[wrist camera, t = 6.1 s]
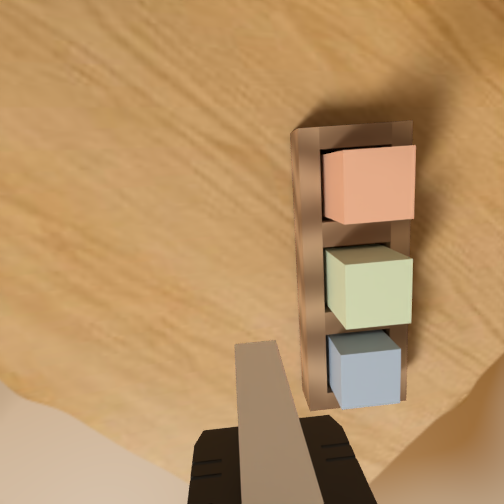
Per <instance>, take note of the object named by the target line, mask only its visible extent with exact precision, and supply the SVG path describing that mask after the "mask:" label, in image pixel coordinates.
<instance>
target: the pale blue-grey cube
mask: <svg viewBox="0 0 504 504" xmlns="http://www.w3.org/2000/svg"><path fill="white" fill-rule="evenodd" d="M326 367H327V380H328V382H329V384H330V386H331V388H332V391H333V393H334V395H335V397H336V399H337V401H338V403H339V405H340V407H341V409H342V410H343V409H352V408H361V407H370V406H378V405H387V404H396V403H400V379H401V348H400V347H399V346H398V345H397V344H396V343H395V342H394V341H393V340H392V339H391V338H390V337H389V336H388V335H387V334H386V333H385V332H384V331H383V330H382V329H379V330H369V331H359V332H349V333H339V334H329V335H326Z"/></svg>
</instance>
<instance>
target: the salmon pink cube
mask: <svg viewBox="0 0 504 504" xmlns="http://www.w3.org/2000/svg"><path fill="white" fill-rule="evenodd" d="M320 159H321V191H322V215H323V216H325V217H327V218H330V219H332V220H334V221H337V222H339V223H342V224H344V225H346V224H358V223H370V222H381V221H393V220H405V219H414V199H415V161H416V145H409V146H395V147H382V148H368V149H355V150H342V151H338V152H333V153H329V154H324V155H320Z"/></svg>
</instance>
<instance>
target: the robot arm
mask: <svg viewBox="0 0 504 504" xmlns="http://www.w3.org/2000/svg"><path fill="white" fill-rule="evenodd" d="M235 365H236V388H237V410H238V427H231V428H222V429H213V430H205V431H203V432H202V434H201V436H200V437H199V439H198V441H197V442H196V444H195V445H194V453H193V461H192V470H191V481H190V486H189V495H188V503H187V504H377V502H376V500H375V498H374V496H373V493H372V491H371V489H370V487H369V485H368V482H367V480H366V478H365V476H364V474H363V471H362V469H361V467H360V465H359V463H358V461H357V459H356V458H355V454H354V452H353V450H352V447H351V445H350V444H349V441H348V439H347V436H346V434H345V432H344V430H343V428H342V426H341V425H340V424H338V423H337V422H336V421H335V420H334V419H333V418H332V417H331V416H330V415H323V416H315V417H306V418H299V417H298V414H297V411H296V407H295V404H294V400H293V397H292V394H291V390H290V387H289V383H288V380H287V377H286V373H285V370H284V366H283V363H282V360H281V356H280V353H279V350H278V346H277V343H276V340H271V341H261V342H252V343H242V344H235Z"/></svg>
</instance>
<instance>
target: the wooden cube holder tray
mask: <svg viewBox="0 0 504 504" xmlns="http://www.w3.org/2000/svg"><path fill="white" fill-rule="evenodd" d="M412 137H413V120H410V121H396V122H381V123H367V124H353V125H339V126H325V127H310V128H298V129H296V130H295V131H293V132H292V133H290V140H291V161H292V181H293V202H294V222H295V243H296V264H297V284H298V305H299V325H300V346H301V367H302V387H303V392H304V395H305V398H306V401H307V404H308V406H309V409H310V411H316V410H325V409H334V408H341V407H340V405H339V403H338V401H337V399H336V397H335V395H334V393H333V391H332V388H331V386H330V384H329V382H328V380H327V367H326V335H329V334H339V333H349V332H359V331H369V330H379V329H382V330H383V331H384V332H385V333H386V334H387V335H388V336H389V337H390V338H391V339H392V340H393V341H394V342H395V343H396V344H397V345H398V346H399V347H400V348H401V379H400V401H405V400H406V387H407V345H408V323H407V324H397V325H387V326H378V327H368V328H358V329H348V330H346V329H345V327H344V326H343V325H342V324H341V322H340V321H339V320H338V318H337V317H336V316H335V315H334V313H333V312H332V311H331V309H330V308H329V307H328V305H327V304H326V303H325V299H324V271H323V247H334V246H345V245H357V244H368V243H375V244H381V245H383V246H385V247H388V248H390V249H392V250H394V251H397V252H399V253H401V254H403V255H406V256H408V257H410V220H411V219H405V220H393V221H381V222H370V223H358V224H346V225H344V224H342V223H339V222H337V221H334V220H332V219H330V218H327V217H322V207H321V175H320V151H330V150H343V149H357V148H370V147H375V148H382V147H395V146H409V145H412Z"/></svg>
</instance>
